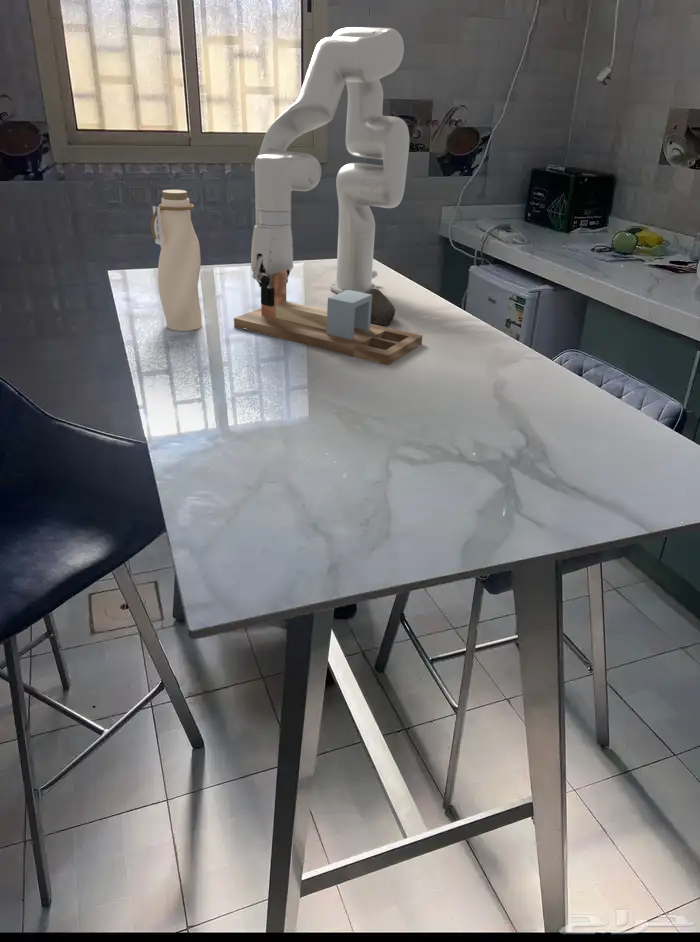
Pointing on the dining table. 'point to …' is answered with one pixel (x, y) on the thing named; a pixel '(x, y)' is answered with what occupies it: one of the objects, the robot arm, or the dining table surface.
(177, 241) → the water bottle
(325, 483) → the dining table surface
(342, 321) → the tunnel
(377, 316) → the stone
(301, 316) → the l-shaped wooden block
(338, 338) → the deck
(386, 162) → the robot arm
